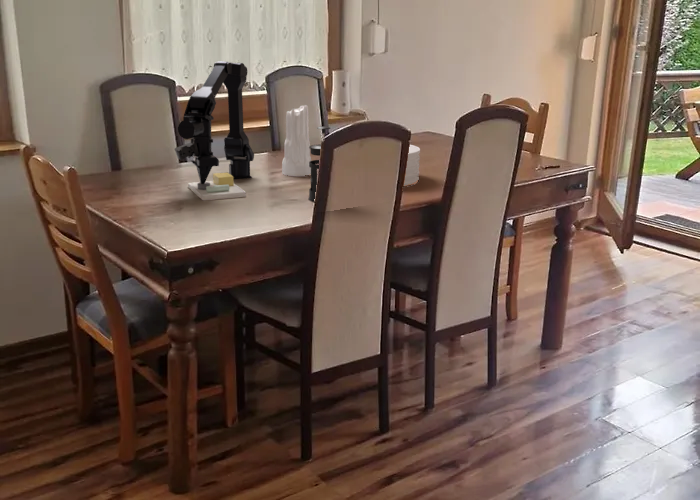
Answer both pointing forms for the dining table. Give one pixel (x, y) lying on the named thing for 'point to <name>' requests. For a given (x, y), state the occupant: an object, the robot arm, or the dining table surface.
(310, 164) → the french press
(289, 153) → the decorative vase
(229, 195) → the instrument board
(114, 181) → the dining table surface
